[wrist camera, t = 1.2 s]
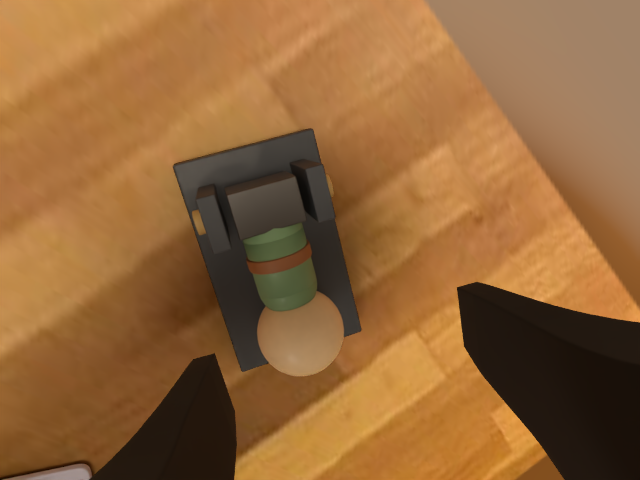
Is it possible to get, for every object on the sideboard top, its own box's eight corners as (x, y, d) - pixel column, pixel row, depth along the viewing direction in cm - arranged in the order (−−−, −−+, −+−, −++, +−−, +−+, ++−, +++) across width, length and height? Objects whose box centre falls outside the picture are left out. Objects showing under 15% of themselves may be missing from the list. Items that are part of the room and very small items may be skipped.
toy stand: (356, 324, 27) (388, 366, 22) (240, 364, 25) (247, 417, 21) (309, 128, 23) (334, 127, 19) (173, 164, 22) (163, 172, 17)
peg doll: (295, 166, 22) (339, 336, 25) (211, 189, 22) (265, 361, 24) (313, 173, 18) (363, 375, 21) (211, 202, 18) (276, 406, 20)
